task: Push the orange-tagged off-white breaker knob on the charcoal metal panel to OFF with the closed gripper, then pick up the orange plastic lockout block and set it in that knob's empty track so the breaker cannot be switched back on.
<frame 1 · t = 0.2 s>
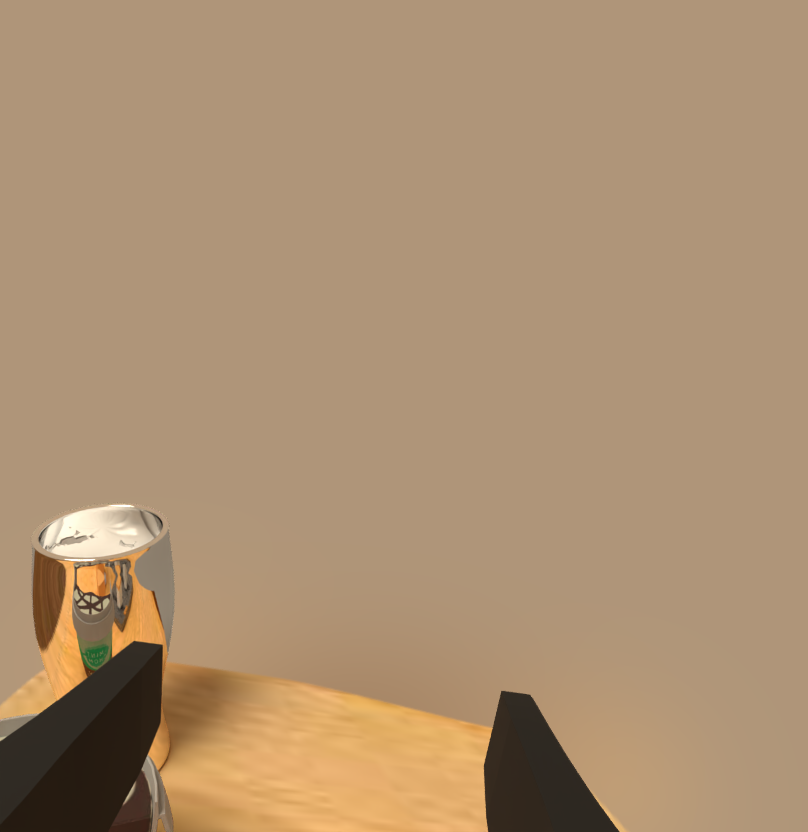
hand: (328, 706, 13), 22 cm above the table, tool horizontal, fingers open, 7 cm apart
beer glass: (115, 759, 37), on the table
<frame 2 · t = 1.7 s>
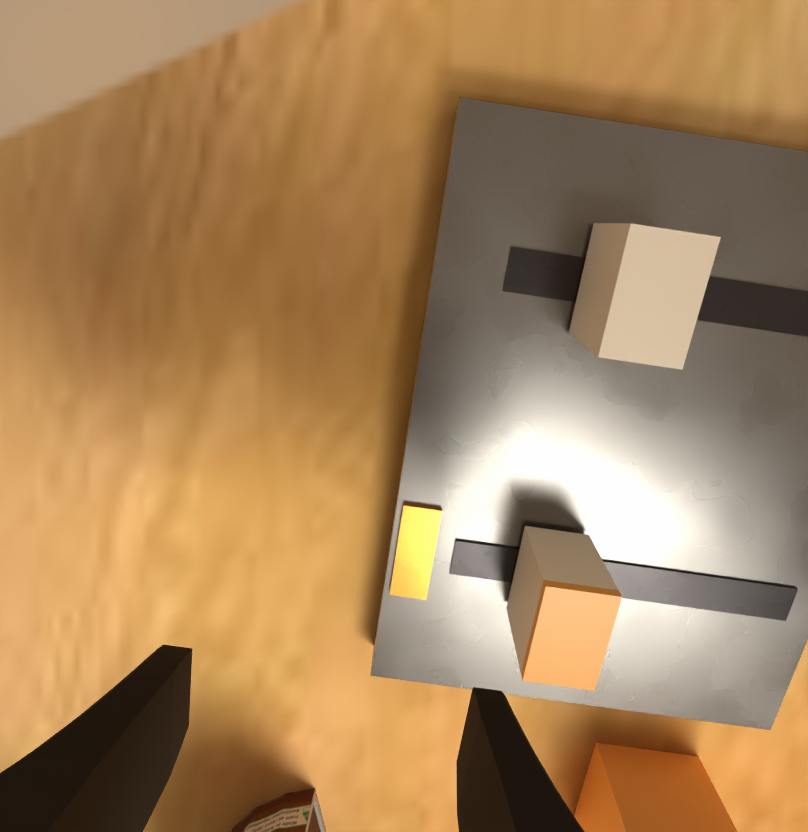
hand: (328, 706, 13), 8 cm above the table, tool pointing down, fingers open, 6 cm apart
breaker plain: (635, 291, 15), point 3 cm above the table, slide at 0.0 cm
lockout block: (633, 788, 24), on the table
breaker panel: (623, 445, 20), on the table
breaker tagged: (557, 603, 18), point 3 cm above the table, slide at 0.0 cm
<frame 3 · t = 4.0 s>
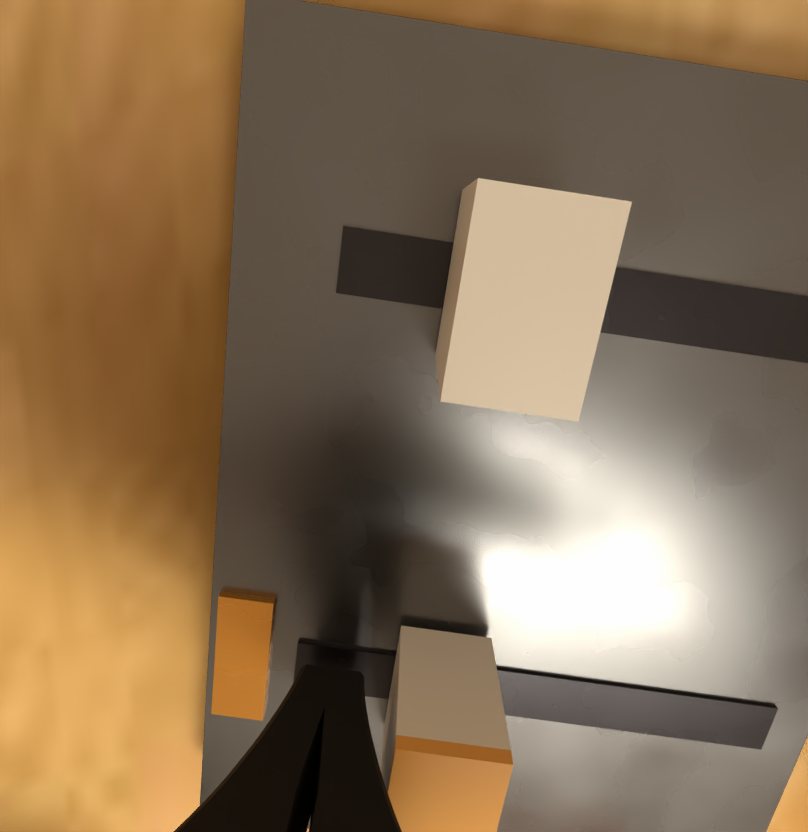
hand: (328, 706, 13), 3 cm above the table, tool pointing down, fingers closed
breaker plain: (514, 294, 10), point 3 cm above the table, slide at 0.0 cm
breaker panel: (536, 506, 14), on the table
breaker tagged: (437, 746, 12), point 3 cm above the table, slide at 0.2 cm, touching gripper
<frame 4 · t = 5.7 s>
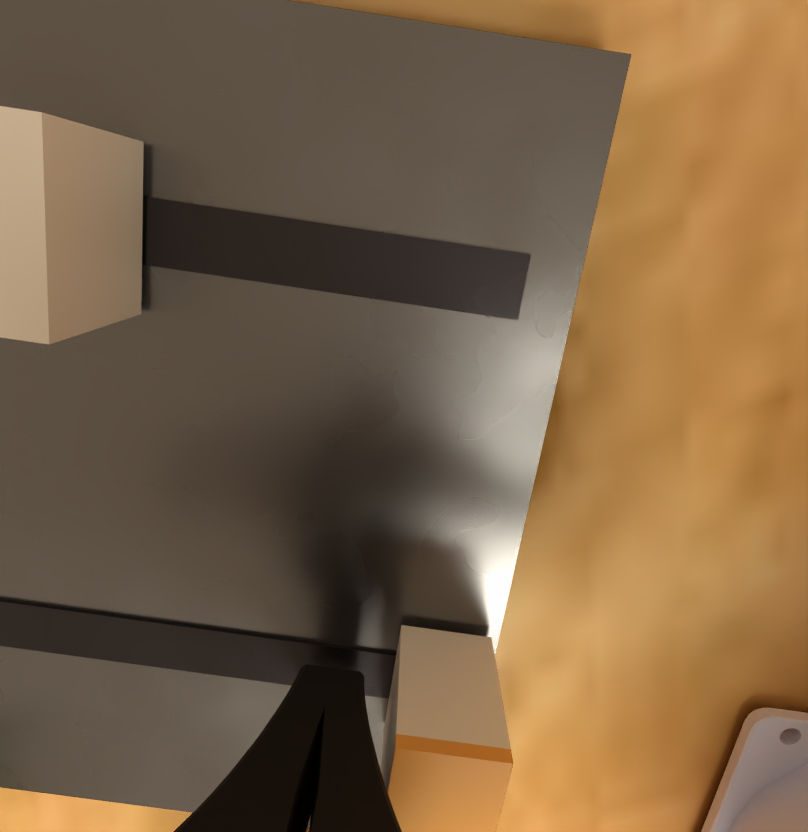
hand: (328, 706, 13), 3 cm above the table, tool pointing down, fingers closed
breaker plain: (37, 223, 10), point 3 cm above the table, slide at 0.0 cm
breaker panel: (214, 460, 14), on the table
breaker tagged: (437, 745, 12), point 3 cm above the table, slide at 7.8 cm, touching gripper
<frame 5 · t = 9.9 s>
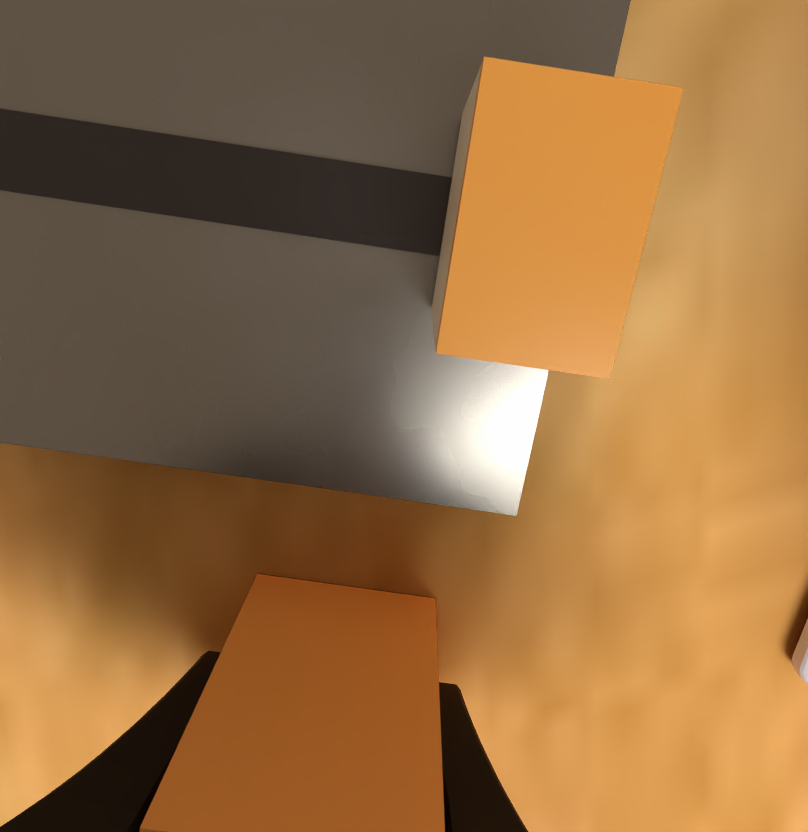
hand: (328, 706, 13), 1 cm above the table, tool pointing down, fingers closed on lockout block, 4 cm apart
lockout block: (336, 660, 14), on the table, touching gripper
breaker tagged: (526, 228, 8), point 3 cm above the table, slide at 7.8 cm
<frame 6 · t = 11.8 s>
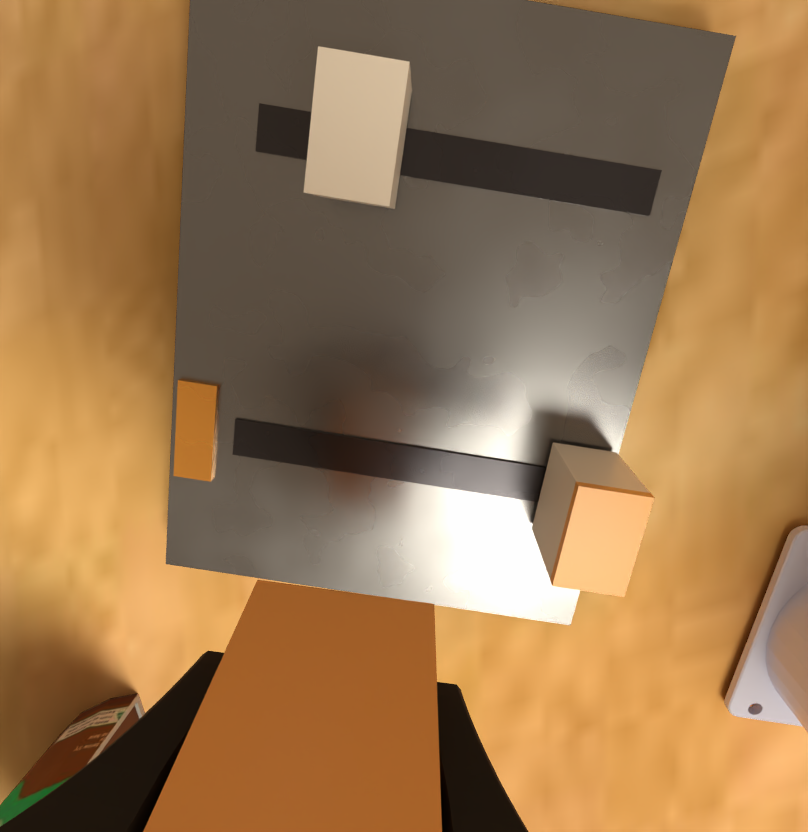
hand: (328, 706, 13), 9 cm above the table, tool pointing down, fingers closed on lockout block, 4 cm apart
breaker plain: (361, 137, 15), point 3 cm above the table, slide at 0.0 cm
lockout block: (336, 664, 14), point 8 cm above the table, touching gripper
food container: (101, 785, 26), on the table
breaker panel: (411, 328, 20), on the table
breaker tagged: (586, 514, 18), point 3 cm above the table, slide at 7.8 cm
when the fingers open (4 cm above the table, at t = 13.8 s): lockout block stays where it is, resting on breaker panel.
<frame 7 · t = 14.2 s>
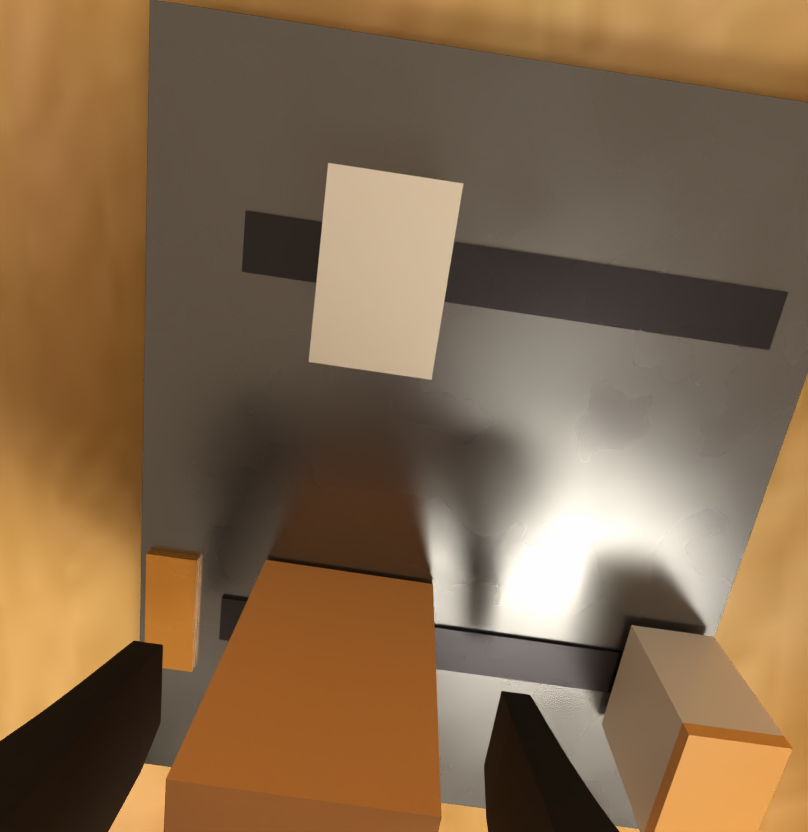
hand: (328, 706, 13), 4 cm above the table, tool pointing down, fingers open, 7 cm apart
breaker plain: (387, 269, 11), point 3 cm above the table, slide at 0.0 cm
lockout block: (339, 642, 15), point 2 cm above the table, touching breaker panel
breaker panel: (445, 473, 15), on the table
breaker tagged: (683, 734, 14), point 3 cm above the table, slide at 7.8 cm
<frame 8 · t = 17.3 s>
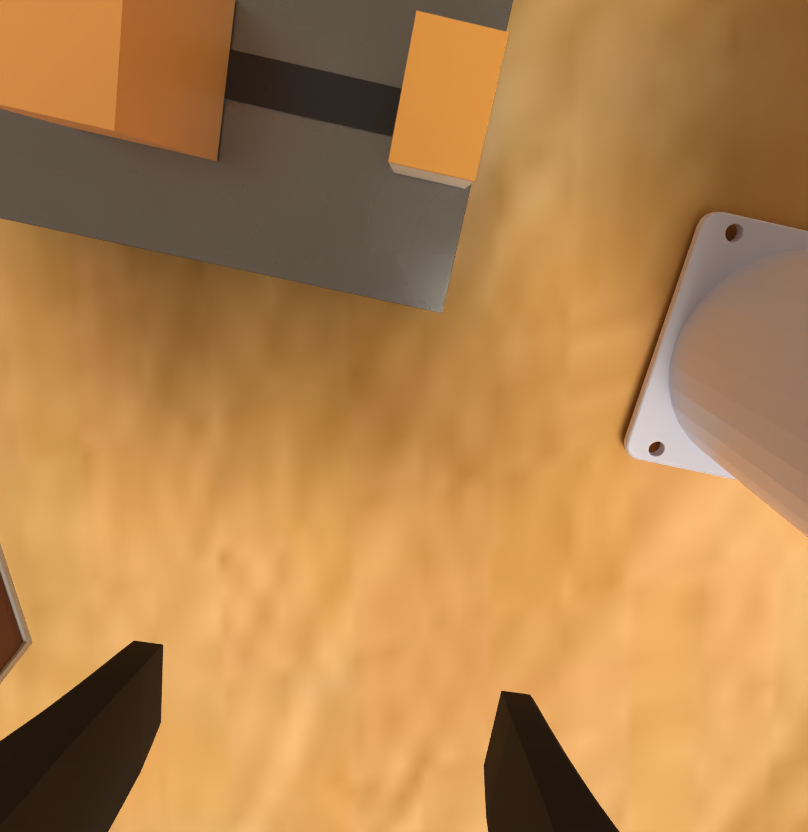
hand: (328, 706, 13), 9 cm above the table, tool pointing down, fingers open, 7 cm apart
lockout block: (151, 64, 16), point 2 cm above the table, touching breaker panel
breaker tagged: (444, 111, 15), point 3 cm above the table, slide at 7.8 cm
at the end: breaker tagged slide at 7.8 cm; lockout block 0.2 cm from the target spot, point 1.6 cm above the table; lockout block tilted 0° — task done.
